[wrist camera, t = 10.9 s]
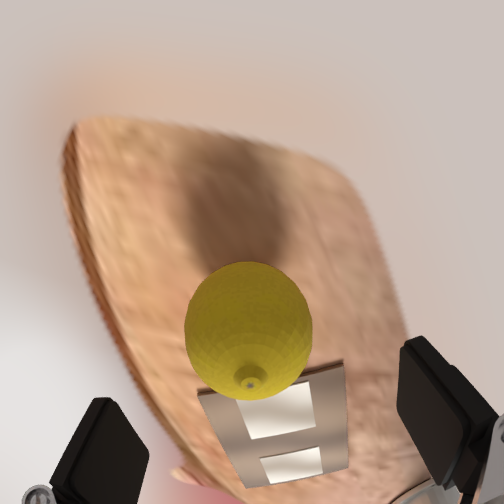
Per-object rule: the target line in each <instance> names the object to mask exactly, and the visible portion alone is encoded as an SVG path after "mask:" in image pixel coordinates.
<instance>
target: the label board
mask: <svg viewBox="0 0 504 504" xmlns="http://www.w3.org/2000/svg"><path fill="white" fill-rule="evenodd" d="M197 397H198V399H199V401H200V403H201V405H202V407H203V409H204V411H205V413H206V416H207V418H208V420H209V422H210V424H211V426H212V428H213V430H214V432H215V433H216V435H217V437H218V439H219V441H220V443H221V445H222V447H223V449H224V451H225V452H226V454H227V456H228V458H229V460H230V462H231V463H232V465H233V467H234V469H235V471H236V472H237V474H238V476H239V478H240V479H241V481H242V483H243V484H244V486H245V488H254V487H262V486H269V485H275V484H281V483H287V482H292V481H297V480H302V479H307V478H311V477H316V476H320V475H324V474H328V473H332V472H336V471H339V470H343V469H346V468H348V428H347V405H346V387H345V373H344V365H343V363H342V364H338V365H335V366H331V367H327V368H324V369H320V370H316V371H312V372H308V373H304V374H300V375H299V377H298V378H297V380H296V381H295V382H293V383H292V384H291V385H290V386H289V387H288V388H287V389H285V390H283V391H281V392H280V393H278V394H276V395H274V396H271V397H268V398H265V399H261V400H253V401H247V400H237V399H233V398H229V397H226V396H224V395H222V394H220V393H218V392H216V391H211V392H204V393H198V394H197Z"/></svg>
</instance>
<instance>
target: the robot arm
mask: <svg viewBox="0 0 504 504" xmlns="http://www.w3.org/2000/svg"><path fill="white" fill-rule="evenodd" d="M397 411H398V414H399V416H400V418H401V420H402V421H403V423H404V425H405V427H406V429H407V430H408V432H409V434H410V436H411V438H412V440H413V441H414V443H415V445H416V447H417V449H418V451H419V453H420V454H421V456H422V458H423V460H424V462H425V464H426V466H427V468H428V470H429V472H430V474H431V475H432V477H433V478H432V479H430V480H428V481H426V482H424V483H422V484H420V485H418V486H417V487H415V488H413V489H412V490H410V491H408V492H407V493H405V494H404V495H402V496H401V497H399V498H398V499H397V500H395V501H394V502H393V503H392V504H504V414H503V415H502V416H500V417H499V415H498V414H497V413H496V412H495V411H494V410H493V409H492V407H491V406H490V405H489V404H488V403H487V401H486V400H485V399H484V398H483V397H482V396H481V395H480V393H479V392H478V391H477V390H476V389H475V388H474V386H473V385H472V384H471V383H470V382H469V381H468V380H467V379H466V378H465V376H464V375H463V374H462V373H461V372H460V371H459V370H458V369H457V368H456V367H455V366H453V365H450V364H449V363H448V362H447V361H446V360H445V359H444V358H443V357H442V355H441V354H440V353H439V352H438V351H437V350H436V349H435V348H434V347H433V346H432V345H431V344H430V343H429V341H427V339H426V338H425V337H423V336H418V337H415V338H413V339H410V340H407V341H405V343H404V346H403V347H401V348H400V361H399V380H398V393H397ZM148 460H149V451H148V449H147V448H146V446H145V445H144V443H143V442H142V440H141V439H140V438H139V436H138V435H137V433H136V432H135V430H134V429H133V427H132V426H131V424H130V423H129V421H128V419H127V418H126V417H125V415H124V413H123V412H122V410H121V409H120V407H119V405H118V404H117V403H116V402H115V401H113V400H112V399H111V398H108V397H101V398H94V399H93V400H92V402H91V404H90V405H89V407H88V409H87V411H86V413H85V415H84V416H83V418H82V420H81V422H80V423H79V426H78V427H77V429H76V431H75V433H74V435H73V436H72V438H71V440H70V442H69V444H68V446H67V448H66V450H65V452H64V453H63V456H62V458H61V459H60V461H59V463H58V465H57V467H56V469H55V471H54V473H53V475H52V477H51V479H50V482H49V483H50V484H51V485H52V486H53V488H52V490H51V489H50V488H49V487H47V486H45V485H36V486H33V487H31V488H29V489H28V490H27V491H26V492H25V494H24V496H23V498H22V504H137V502H138V498H139V494H140V491H141V487H142V483H143V479H144V475H145V472H146V468H147V464H148ZM456 487H457V488H456ZM457 489H458V490H457ZM458 491H459V492H460V493H461V494H459V492H458Z"/></svg>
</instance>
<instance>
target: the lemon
mask: <svg viewBox="0 0 504 504" xmlns="http://www.w3.org/2000/svg"><path fill="white" fill-rule="evenodd" d="M184 328H185V344H186V350H187V353H188V356H189V359H190V361H191V364H192V366H193V368H194V370H195V372H196V373H197V374H198V376H199V377H200V378H201V379H202V381H203V382H204V383H205V384H207V385H208V386H209V387H210V388H212V389H213V390H214V391H216V392H218V393H220V394H222V395H224V396H226V397H229V398H233V399H237V400H247V401H253V400H261V399H265V398H268V397H271V396H274V395H276V394H278V393H280V392H281V391H283V390H285V389H287V388H288V387H289V386H290V385H291V384H292V383H293V382H295V381H296V380H297V378H298V377H299V375H300V374H301V372H302V371H303V369H304V368H305V366H306V364H307V361H308V358H309V355H310V352H311V347H312V319H311V315H310V312H309V308H308V305H307V302H306V299H305V298H304V296H303V294H302V293H301V291H300V290H299V288H298V287H297V285H296V284H295V283H294V282H293V281H292V280H291V279H290V278H289V277H287V276H286V275H285V274H284V273H283V272H282V271H280V270H278V269H276V268H274V267H272V266H270V265H267V264H263V263H259V262H254V261H249V262H236V263H233V264H229V265H225V266H224V267H222V268H220V269H218V270H217V271H215V272H213V273H211V274H210V275H209V276H208V277H207V278H206V279H205V280H204V281H203V282H202V283H201V284H200V285H199V287H198V288H197V290H196V292H195V293H194V295H193V297H192V299H191V300H190V303H189V306H188V310H187V314H186V319H185V325H184Z"/></svg>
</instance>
